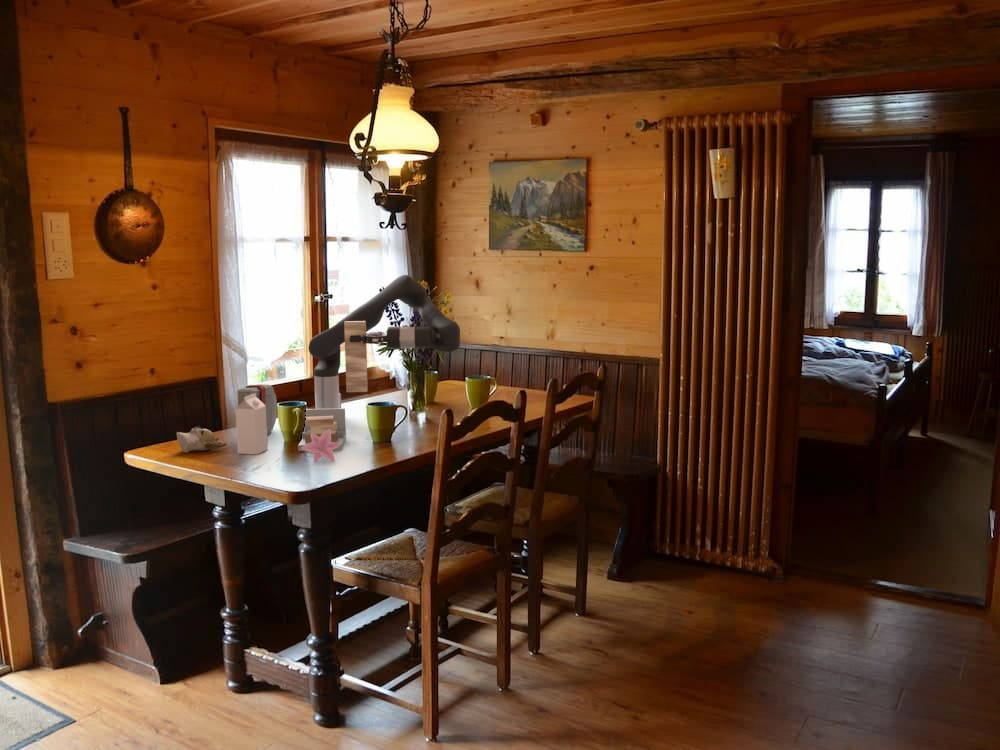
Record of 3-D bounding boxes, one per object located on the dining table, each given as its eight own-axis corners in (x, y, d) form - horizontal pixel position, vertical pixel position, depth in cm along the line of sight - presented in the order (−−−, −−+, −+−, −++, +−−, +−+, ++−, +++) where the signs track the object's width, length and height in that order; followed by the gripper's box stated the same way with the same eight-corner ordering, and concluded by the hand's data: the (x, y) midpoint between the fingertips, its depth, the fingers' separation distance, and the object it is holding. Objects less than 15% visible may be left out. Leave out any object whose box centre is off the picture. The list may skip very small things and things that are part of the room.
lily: (297, 464, 276) (300, 443, 271) (309, 444, 285) (313, 423, 280) (330, 475, 276) (333, 454, 271) (342, 454, 285) (345, 434, 280)
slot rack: (305, 440, 305) (304, 409, 303) (346, 439, 306) (344, 408, 304) (298, 451, 289) (296, 418, 287) (341, 450, 290) (339, 417, 288)
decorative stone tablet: (254, 388, 292) (278, 381, 322) (234, 388, 292) (261, 381, 322) (255, 445, 293) (279, 433, 323) (235, 445, 294) (262, 433, 323)
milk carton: (237, 453, 286) (234, 396, 283) (248, 448, 293) (245, 392, 290) (257, 455, 284) (254, 397, 281) (268, 449, 291) (265, 393, 288)
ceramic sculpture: (172, 424, 290) (218, 421, 298) (172, 449, 291) (218, 446, 300) (180, 430, 281) (227, 427, 290) (180, 456, 283) (227, 453, 291)
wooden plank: (347, 390, 300) (344, 321, 297) (367, 390, 301) (365, 321, 297) (346, 392, 298) (344, 322, 294) (367, 391, 298) (365, 321, 295)
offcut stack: (307, 439, 297) (306, 416, 296) (337, 438, 298) (336, 415, 297) (304, 443, 291) (303, 419, 290) (335, 442, 292) (334, 419, 291)
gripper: (401, 324, 304) (351, 325, 303) (400, 328, 290) (347, 329, 289) (402, 345, 305) (352, 346, 304) (400, 351, 291) (348, 352, 290)
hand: (350, 338), depth 296 cm, fingers closed on wooden plank, 2 cm apart
